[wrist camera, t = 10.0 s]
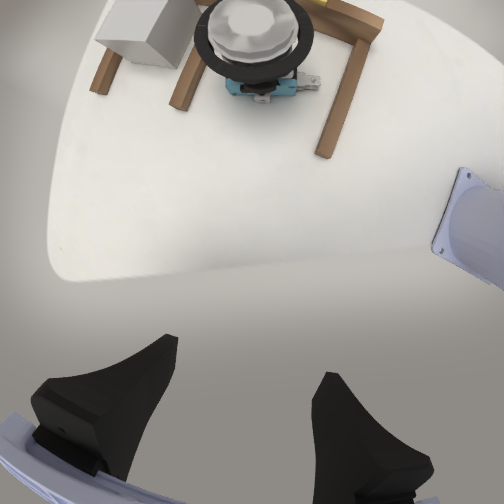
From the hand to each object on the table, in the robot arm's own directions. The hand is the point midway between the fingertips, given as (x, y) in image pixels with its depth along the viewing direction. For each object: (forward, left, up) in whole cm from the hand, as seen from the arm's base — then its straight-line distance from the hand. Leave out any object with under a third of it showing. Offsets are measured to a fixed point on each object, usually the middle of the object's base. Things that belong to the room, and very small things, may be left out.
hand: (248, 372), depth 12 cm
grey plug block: (+15, -17, -10) cm, 25 cm away
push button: (+5, -15, -11) cm, 19 cm away
